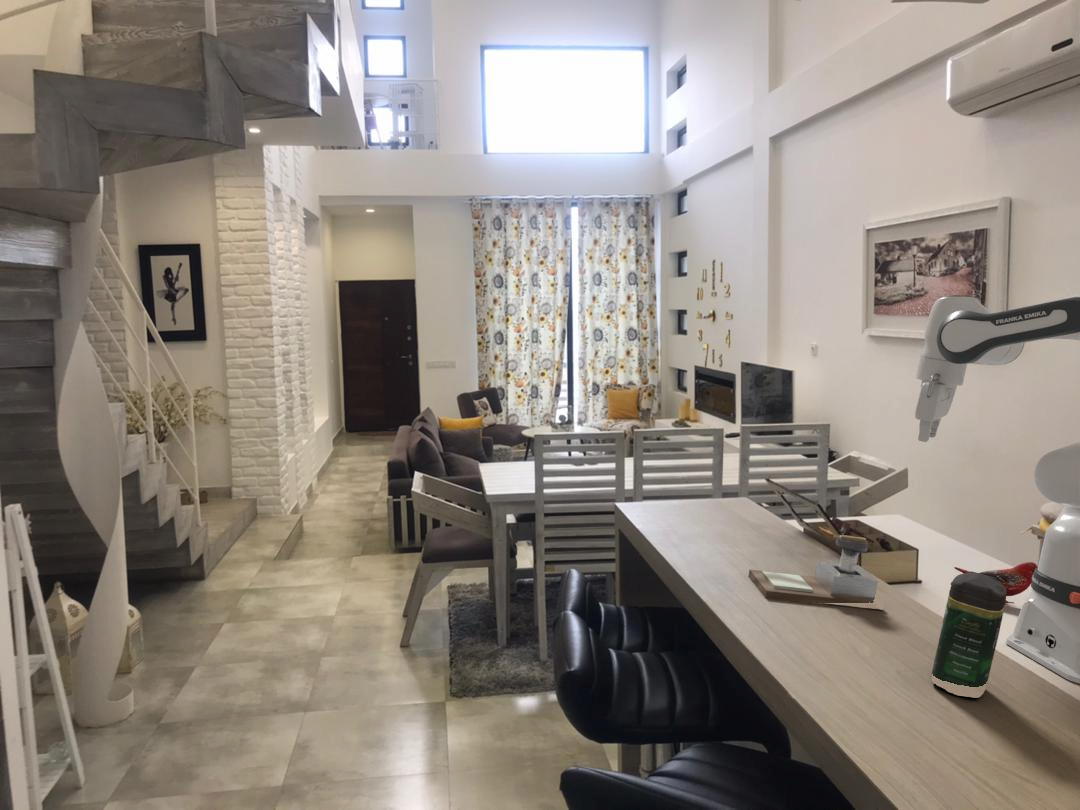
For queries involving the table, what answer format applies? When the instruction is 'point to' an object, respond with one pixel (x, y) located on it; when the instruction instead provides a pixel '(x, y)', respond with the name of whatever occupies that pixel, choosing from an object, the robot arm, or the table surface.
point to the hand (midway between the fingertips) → (926, 439)
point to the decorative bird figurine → (1012, 577)
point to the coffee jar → (970, 630)
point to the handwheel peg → (850, 552)
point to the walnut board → (796, 588)
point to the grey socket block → (845, 581)
